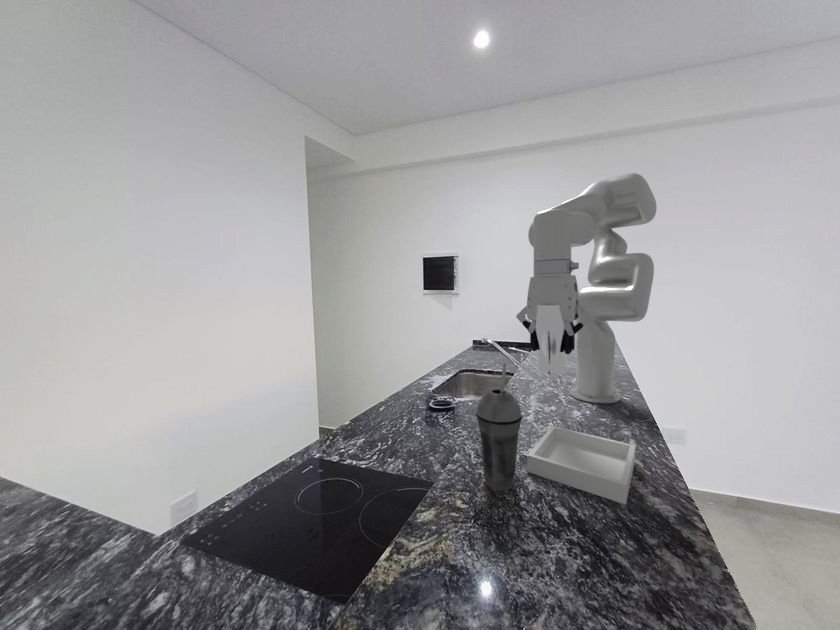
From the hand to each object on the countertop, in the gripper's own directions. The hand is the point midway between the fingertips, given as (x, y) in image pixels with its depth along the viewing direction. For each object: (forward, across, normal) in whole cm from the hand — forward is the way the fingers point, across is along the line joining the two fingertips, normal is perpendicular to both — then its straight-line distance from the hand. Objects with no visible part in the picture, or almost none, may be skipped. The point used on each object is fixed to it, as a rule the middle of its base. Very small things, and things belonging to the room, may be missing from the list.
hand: (551, 350), depth 71 cm
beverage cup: (+18, +1, +26) cm, 31 cm away
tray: (+18, -9, +13) cm, 23 cm away
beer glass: (+5, 0, 0) cm, 5 cm away
